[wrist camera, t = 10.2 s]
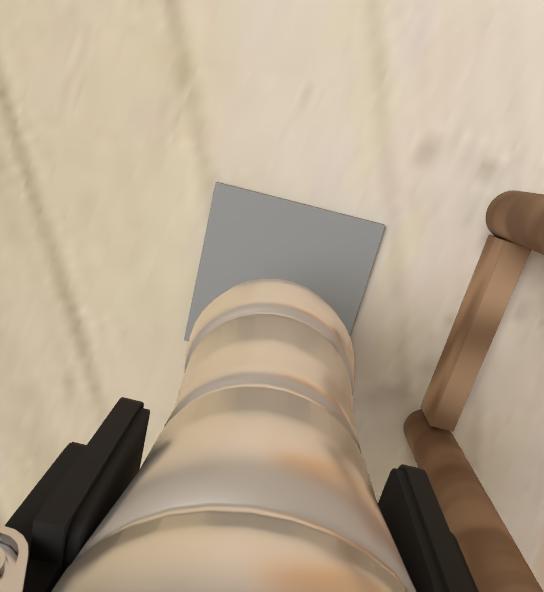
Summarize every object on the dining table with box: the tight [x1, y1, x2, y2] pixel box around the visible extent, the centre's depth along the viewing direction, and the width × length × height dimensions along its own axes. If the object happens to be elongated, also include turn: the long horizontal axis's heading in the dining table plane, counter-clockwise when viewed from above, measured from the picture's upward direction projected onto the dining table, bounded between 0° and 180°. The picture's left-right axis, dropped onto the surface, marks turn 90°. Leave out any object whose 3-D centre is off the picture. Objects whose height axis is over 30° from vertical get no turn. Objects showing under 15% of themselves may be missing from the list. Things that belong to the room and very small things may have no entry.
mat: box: [184, 182, 385, 341], centre depth 30 cm, size 11×11×1 cm
